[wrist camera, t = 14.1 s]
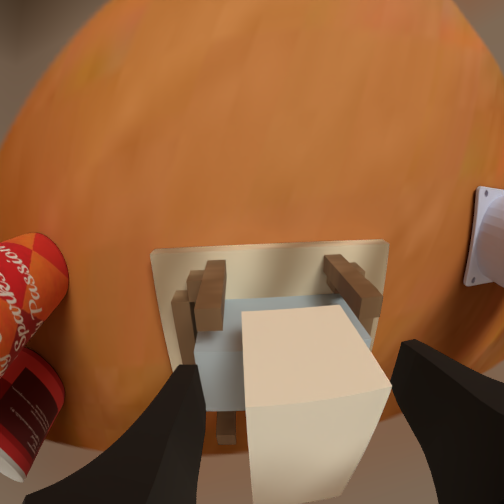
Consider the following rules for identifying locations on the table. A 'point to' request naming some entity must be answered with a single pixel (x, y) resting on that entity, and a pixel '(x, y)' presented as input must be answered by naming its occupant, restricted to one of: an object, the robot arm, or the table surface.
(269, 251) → the jig
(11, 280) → the paper cup
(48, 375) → the canned food
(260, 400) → the cream white block
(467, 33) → the table surface
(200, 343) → the grey block
